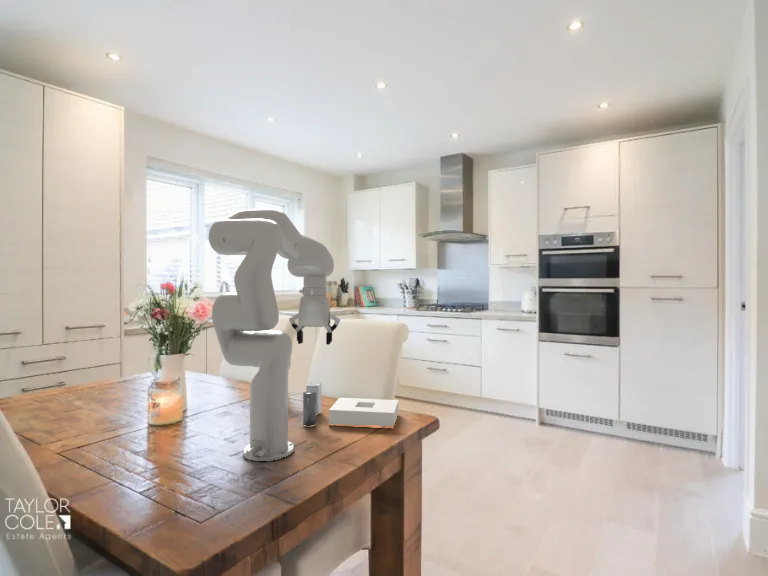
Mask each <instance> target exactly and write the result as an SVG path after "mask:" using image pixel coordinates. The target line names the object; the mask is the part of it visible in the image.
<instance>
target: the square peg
mask: <svg viewBox="0 0 768 576" xmlns="http://www.w3.org/2000/svg"><path fill="white" fill-rule="evenodd" d="M305 387H306V389H305V392H307V391H315V392H316V414H318V413H319V412H320V411H321V412H322V382H308V383H307V384H306V386H305Z"/></svg>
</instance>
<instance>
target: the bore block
mask: <svg viewBox="0 0 768 576" xmlns="http://www.w3.org/2000/svg"><path fill="white" fill-rule="evenodd" d="M397 415H398V416H399V400H398V399H385V398H384V399H378V398H360V397H359V398H358V397H357V398H356V397H354V398H353V397H338V399H336V401H335V402H334V403H333V405H332V406H331V407H330V408H329V409H328V425H329V424H347V425H348V424H349V425H379V426H394V424H395V421H396V418H397ZM397 419H398V418H397ZM396 422H397V421H396ZM395 425H396V424H395Z"/></svg>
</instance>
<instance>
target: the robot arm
mask: <svg viewBox="0 0 768 576" xmlns="http://www.w3.org/2000/svg"><path fill="white" fill-rule="evenodd" d="M208 242H209V245H210V247H211V248H212V250H213V251H214V252H216V253H218V254H220V255H223V256H244V258H243V260H242V262H241V263H240V264H239V266H238V267H237V269H236V272H235V274H234V277H233V281H234V286H235V287H234V288H235V292H234V291H233V292H224V293H222V294H220V295H218V296H217V298H215V299H214V302H213V304H212V310H211V318H212V324H213V328H214V332H215V334H216V338H217V341H218V343H219V347H220V350H221V353H222V356H223V358H224V359H225V361H226V362H227V363H228V364H229V365H231V366H236V367H254V368H259V369H258V371H257V373H256V374H255V375H254V376H253V378H252V379H251V382H250V385H249V444H248V445H246V446H245V447H244V448H243V457H244V458H245V459H247V460H249V461H252V460H253V461H254V462H259V461H267V462H274V461H273V460H275V461H278V459H279V460H282V459H281V458H283V457H285V458H287V457H289V456H290V454H291V453H292V452H294V451H295V445H294V443H293V442H291V441H289V401H288V400H289V371H290V368H289V364H290V358H292V353H293V342H292V338H291V336H290V335H289V334H288V333H286V332H284V331H282V330H278V329H277V330H276V329H275V327H276V326H277V325H278V323H279V317H280V315H279V307H278V303H277V298H276V294H275V293H276V292H275V289H274V286H273V285H274V284H273V278H272V271H273V267H274V263H275V260H276V257H277V255H279V256H280V257H281V258H284V259H285V260H287V270H288V272H289V273H290V275H292V276H294V277H297V278H303V287H302V288H299V294H302V295H303V296H300V300H299V304H298V306H299V307H298V313H297V314H295V315H294V316H291V317H289V319H288V320H289V323H290V324H291V327H292V328H293V329H294V330H295V332H296V341H297V344H298V345H300V344H303V343H304V331H303V329H304V328H305V327H307V328H309V327H310V328H324V329H325V330H326V331H327V332H326V335H325V338H326V340H325V341H326V342H325V344H326V345H327V346H329V345H330V344H331V343H332V342H333V332H334V331H335V330H336V329H337V328H338V327H339V326H338V325H339V324H340V322H341V319H340V318H338V317H337V316H335V315H333V314H332V313H331V306H330V300H329V296H327V277H330V276H331V275H332V273H333V272H334V268H335V264H334V263H335V262H334V258H333V256H332V254H331V253H330V251H329V249H328V247H327V246H325V244H322V243H321V242H319V241H317V240H315V239H313V238H310V237H308V236H306V235H303V234H301V232H299V230H298V229H297V227H296V226H295V225H294V223H293V222H292V221H291V219H290V218H289V217H288V215H287V214H286V213H285V212H284V211H282V210H280V209H278V208H254V209H253V208H252V209H251V208H250V209H249V208H248V209H242V210H239V211H235V212H234V213H232V214H229V215H226V216H224V217H222V218H220V219H218V220H216V221H215V222H214V223H212V225H211V227H210V229H209V231H208ZM296 320H297V323H296ZM331 320H332V321H334V323H333V325H332V326H331ZM292 454H293V453H292ZM292 454H291V455H292ZM288 455H289V456H288ZM286 456H287V457H286ZM283 459H284V458H283ZM253 461H252V462H253Z"/></svg>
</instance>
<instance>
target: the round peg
mask: <svg viewBox="0 0 768 576" xmlns="http://www.w3.org/2000/svg"><path fill="white" fill-rule="evenodd" d="M302 399H303V400H302V402H303V406H302V407H303V409H302V425H306V426H311V425H315V424H316V425H317V416H316V392H315V391H307V392H306V391H304V392H303V394H302Z"/></svg>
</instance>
